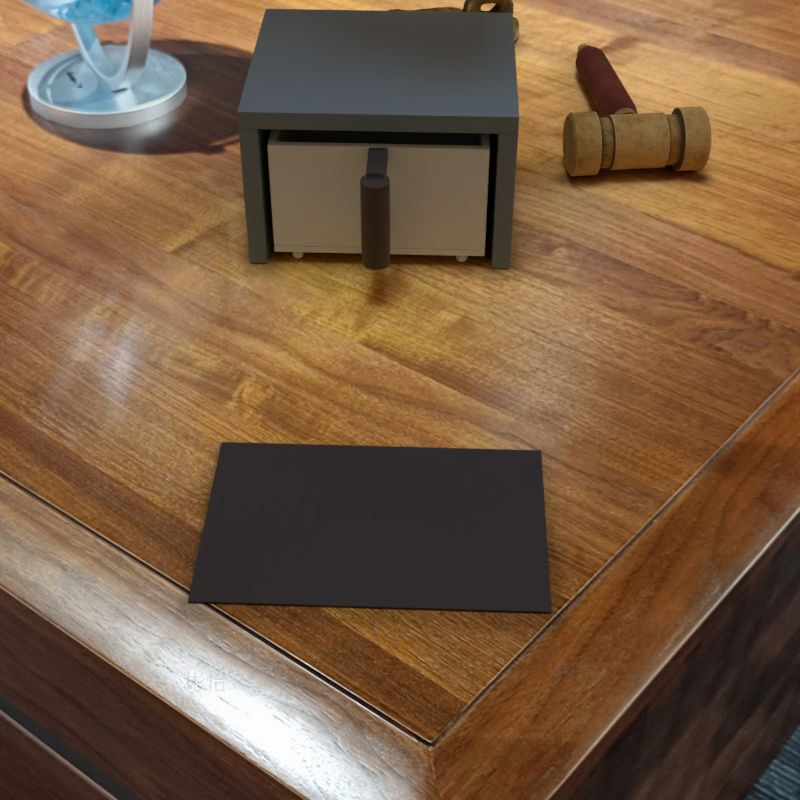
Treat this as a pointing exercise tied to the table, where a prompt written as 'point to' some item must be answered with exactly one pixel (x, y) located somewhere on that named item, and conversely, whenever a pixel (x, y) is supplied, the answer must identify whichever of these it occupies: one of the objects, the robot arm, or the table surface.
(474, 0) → the seal
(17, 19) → the table surface
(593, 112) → the gavel
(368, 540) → the mat
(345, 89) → the cabinet
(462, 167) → the bin
